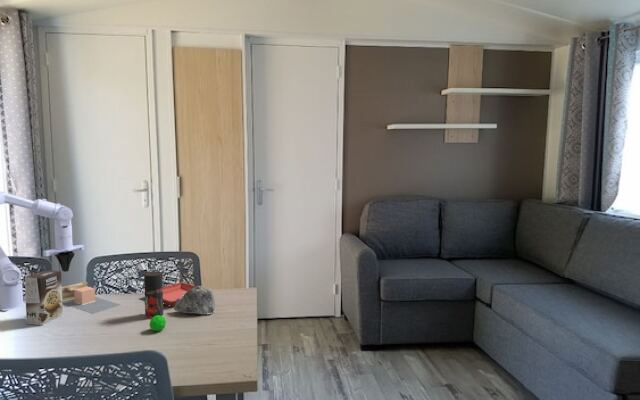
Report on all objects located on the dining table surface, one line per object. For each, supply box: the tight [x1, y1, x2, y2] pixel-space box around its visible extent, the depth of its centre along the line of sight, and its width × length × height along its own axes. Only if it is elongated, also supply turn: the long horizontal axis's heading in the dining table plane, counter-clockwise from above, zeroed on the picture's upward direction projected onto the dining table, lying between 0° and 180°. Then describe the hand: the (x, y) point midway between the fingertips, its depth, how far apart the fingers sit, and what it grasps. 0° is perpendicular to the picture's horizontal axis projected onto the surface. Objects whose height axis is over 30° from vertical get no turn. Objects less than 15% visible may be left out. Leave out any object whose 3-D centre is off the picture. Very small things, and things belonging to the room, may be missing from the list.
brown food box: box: [24, 270, 64, 326], centre depth 148 cm, size 9×6×16 cm
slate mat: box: [62, 296, 121, 315], centre depth 165 cm, size 25×11×1 cm, turn 59°
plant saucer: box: [143, 282, 197, 307], centre depth 173 cm, size 18×18×3 cm
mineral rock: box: [173, 285, 216, 315], centre depth 158 cm, size 13×11×10 cm
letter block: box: [74, 285, 96, 305], centre depth 165 cm, size 5×5×5 cm
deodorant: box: [143, 270, 164, 319], centre depth 154 cm, size 6×6×15 cm
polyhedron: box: [149, 315, 167, 332], centre depth 141 cm, size 5×5×5 cm
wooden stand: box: [62, 281, 88, 302], centre depth 169 cm, size 6×11×5 cm, turn 149°
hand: (65, 271), depth 171 cm, fingers closed
